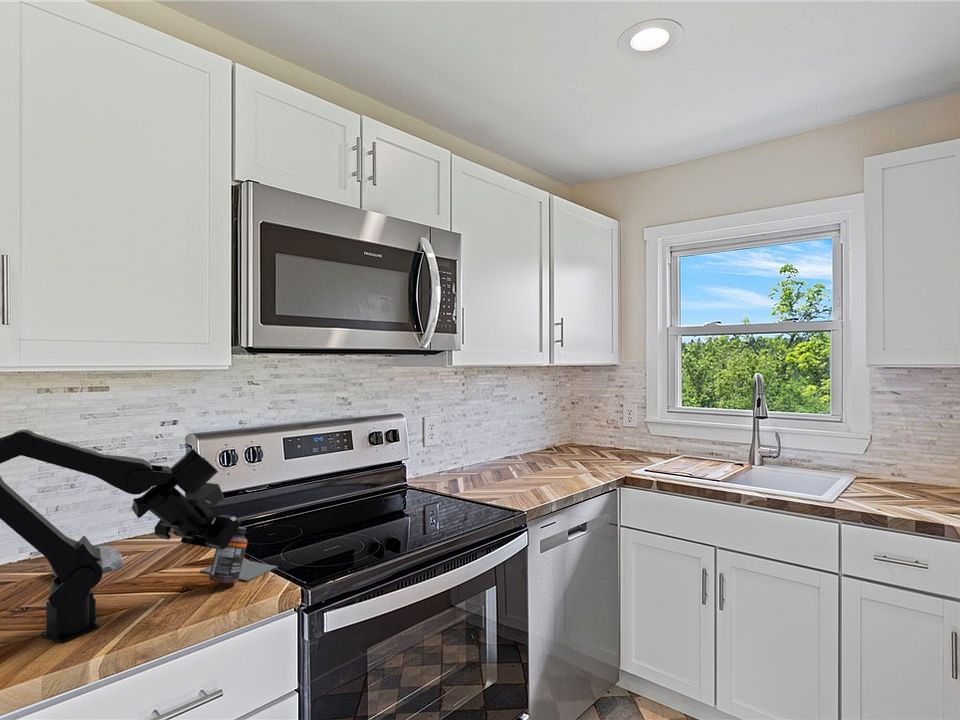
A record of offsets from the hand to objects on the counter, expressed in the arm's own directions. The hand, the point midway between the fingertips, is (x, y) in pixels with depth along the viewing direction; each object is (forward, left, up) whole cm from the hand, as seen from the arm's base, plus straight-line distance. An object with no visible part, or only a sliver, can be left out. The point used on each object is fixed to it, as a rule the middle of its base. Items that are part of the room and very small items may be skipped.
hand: (221, 547), depth 124 cm
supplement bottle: (+1, 0, -8) cm, 8 cm away
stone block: (-5, +35, -9) cm, 36 cm away
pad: (+9, +4, -9) cm, 13 cm away
